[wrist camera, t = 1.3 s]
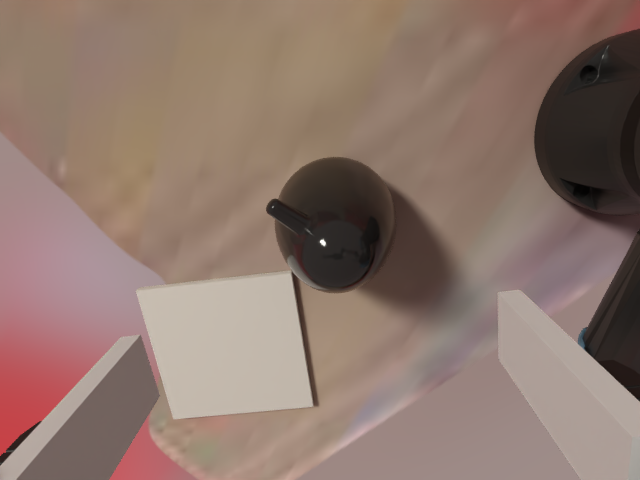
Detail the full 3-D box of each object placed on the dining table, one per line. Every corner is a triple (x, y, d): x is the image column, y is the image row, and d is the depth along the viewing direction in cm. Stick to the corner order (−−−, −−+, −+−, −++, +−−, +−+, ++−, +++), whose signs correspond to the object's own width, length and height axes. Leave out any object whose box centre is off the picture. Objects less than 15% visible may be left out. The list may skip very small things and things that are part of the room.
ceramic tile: (291, 270, 40) (291, 273, 40) (313, 401, 45) (313, 406, 44) (139, 287, 42) (135, 290, 41) (176, 414, 46) (173, 419, 45)
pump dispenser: (326, 127, 36) (322, 137, 22) (410, 200, 38) (458, 254, 23) (258, 212, 39) (214, 270, 24) (340, 276, 41) (344, 367, 26)
